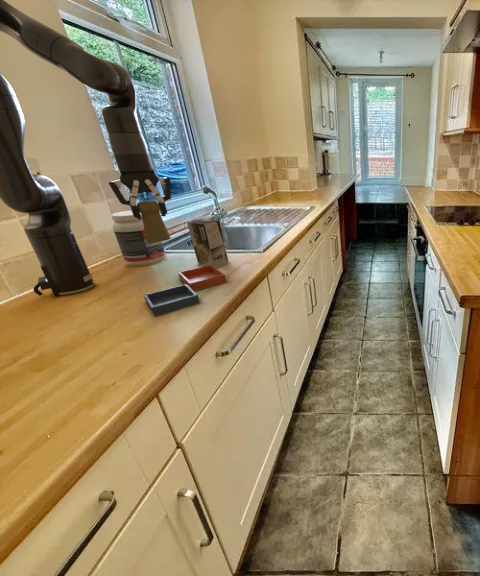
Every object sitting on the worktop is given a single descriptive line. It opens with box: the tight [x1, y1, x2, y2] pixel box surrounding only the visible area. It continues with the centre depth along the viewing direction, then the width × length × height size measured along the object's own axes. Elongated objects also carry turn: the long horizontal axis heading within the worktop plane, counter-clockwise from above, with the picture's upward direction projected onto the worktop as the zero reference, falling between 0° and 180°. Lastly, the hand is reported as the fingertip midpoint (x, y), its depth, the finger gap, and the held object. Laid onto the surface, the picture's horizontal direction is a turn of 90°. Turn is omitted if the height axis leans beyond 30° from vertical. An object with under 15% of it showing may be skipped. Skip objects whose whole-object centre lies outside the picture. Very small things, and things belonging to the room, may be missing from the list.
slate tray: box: [143, 283, 201, 317], centre depth 88 cm, size 11×11×3 cm
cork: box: [136, 199, 172, 242], centre depth 90 cm, size 6×6×11 cm
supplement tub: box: [110, 210, 167, 267], centre depth 116 cm, size 13×13×18 cm
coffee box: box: [186, 218, 230, 269], centre depth 114 cm, size 9×6×16 cm
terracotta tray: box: [177, 265, 228, 292], centre depth 102 cm, size 10×13×3 cm
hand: (151, 217), depth 89 cm, fingers closed on cork, 5 cm apart
